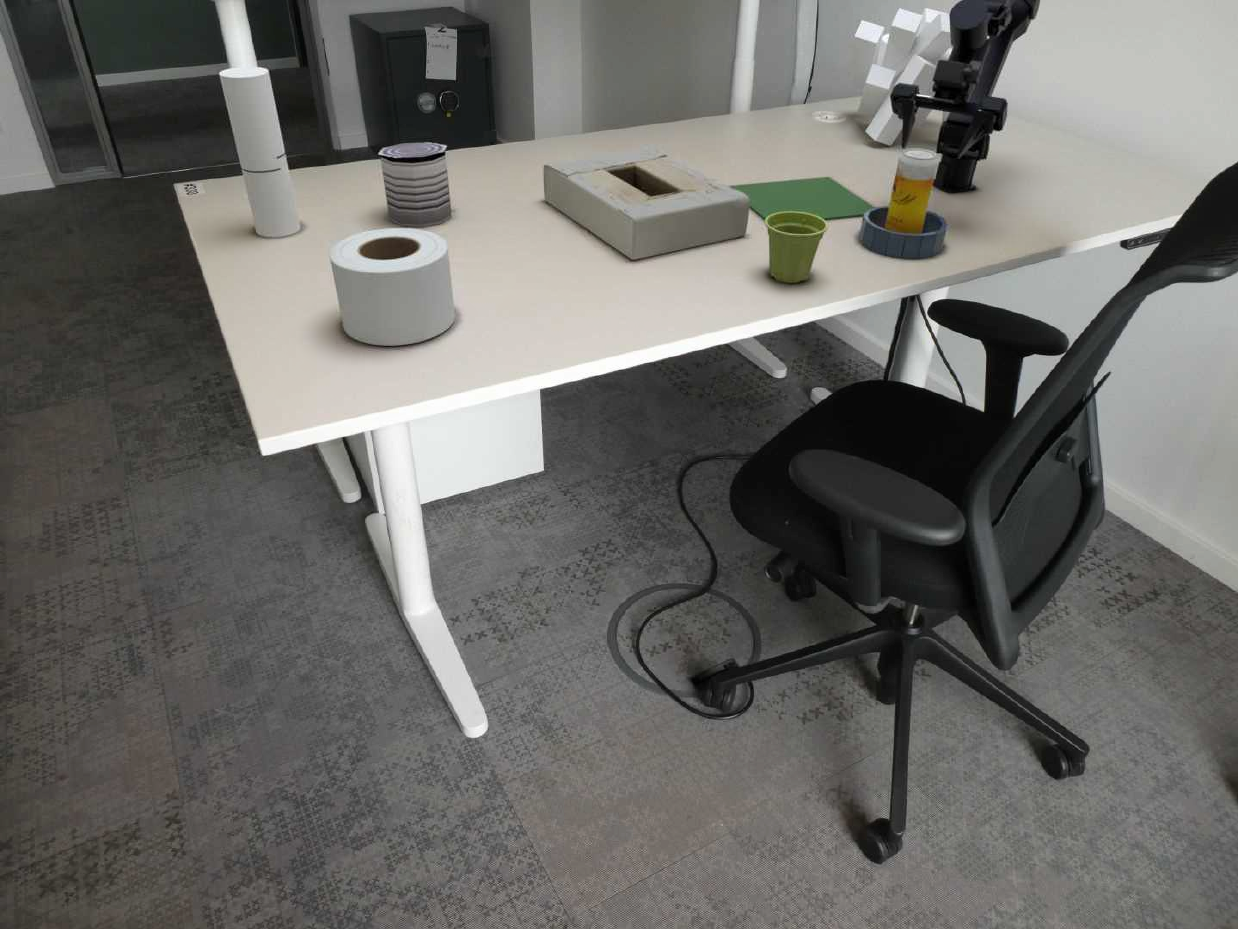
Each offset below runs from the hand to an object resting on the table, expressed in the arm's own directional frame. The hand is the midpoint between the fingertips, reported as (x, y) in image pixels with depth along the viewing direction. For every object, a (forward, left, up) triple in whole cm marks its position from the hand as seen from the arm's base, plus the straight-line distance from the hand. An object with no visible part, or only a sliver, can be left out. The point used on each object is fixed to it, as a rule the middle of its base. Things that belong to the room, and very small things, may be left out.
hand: (929, 152), depth 147 cm
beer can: (+6, +5, -13) cm, 15 cm away
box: (+44, -19, -13) cm, 50 cm away
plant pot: (+31, +11, -13) cm, 35 cm away
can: (+81, -32, -13) cm, 88 cm away
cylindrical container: (+105, -33, -13) cm, 111 cm away
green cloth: (+12, -18, -13) cm, 25 cm away
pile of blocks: (-32, -51, -13) cm, 62 cm away
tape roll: (+91, +7, -13) cm, 92 cm away
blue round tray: (+6, +5, -13) cm, 15 cm away
